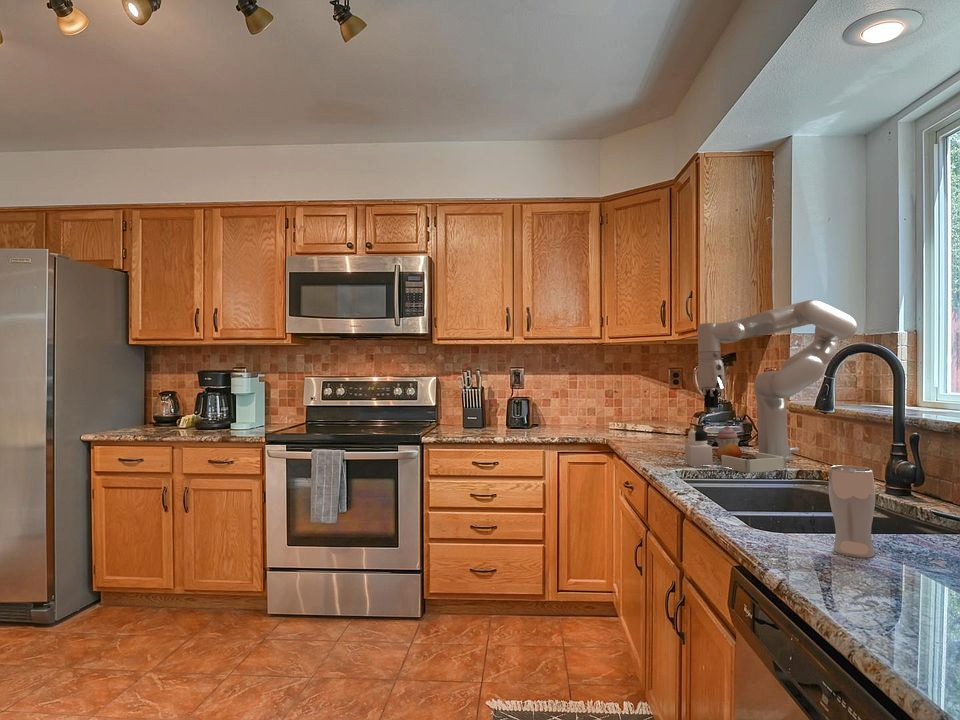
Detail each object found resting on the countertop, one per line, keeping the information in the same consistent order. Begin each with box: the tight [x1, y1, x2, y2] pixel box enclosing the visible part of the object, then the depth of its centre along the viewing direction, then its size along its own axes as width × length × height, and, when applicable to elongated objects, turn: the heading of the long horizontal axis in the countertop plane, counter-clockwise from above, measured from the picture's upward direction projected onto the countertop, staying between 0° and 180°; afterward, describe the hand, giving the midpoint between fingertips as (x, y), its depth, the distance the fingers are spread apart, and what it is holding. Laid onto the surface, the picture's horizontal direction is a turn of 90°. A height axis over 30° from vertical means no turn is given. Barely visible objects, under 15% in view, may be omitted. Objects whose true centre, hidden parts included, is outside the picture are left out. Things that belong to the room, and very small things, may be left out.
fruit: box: [716, 443, 743, 463], centre depth 195 cm, size 8×8×8 cm
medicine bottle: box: [684, 429, 713, 467], centre depth 192 cm, size 7×7×12 cm
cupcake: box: [714, 425, 741, 449], centre depth 225 cm, size 9×9×10 cm
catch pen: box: [721, 452, 788, 474], centre depth 184 cm, size 15×12×4 cm
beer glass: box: [828, 465, 876, 559], centre depth 100 cm, size 7×7×15 cm
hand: (711, 407), depth 204 cm, fingers closed
